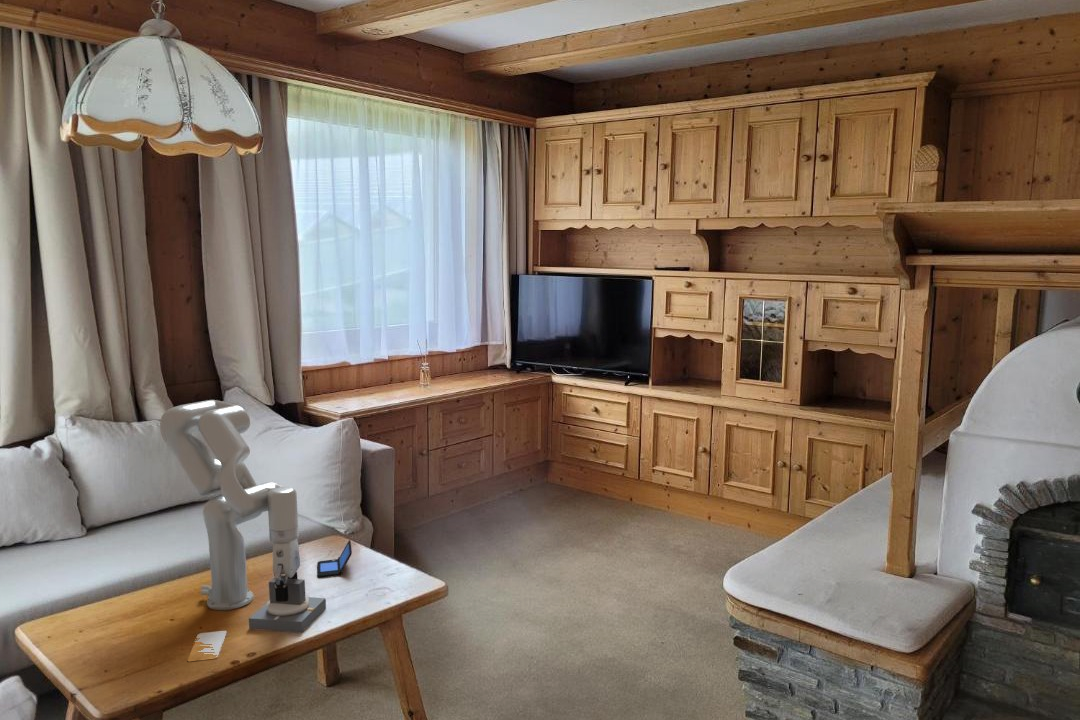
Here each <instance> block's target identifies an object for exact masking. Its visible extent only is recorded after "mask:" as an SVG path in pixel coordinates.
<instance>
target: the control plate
mask: <svg viewBox="0 0 1080 720" xmlns="http://www.w3.org/2000/svg"><path fill="white" fill-rule="evenodd" d="M307 597H308V598H309V606H308V607H307V608H306V609H305V610H304V611H302V612H299V613H296V614H292V615H286V616H277V615H272V614H270V613H268V612H267V602H266V603H265V604H264V605H262V606H261V607H260V608H259V609H258V610H257V611H255V612H254V613H253V614H252V615H251V616H249V617H248V628H249V630H257V631H259V630H260V631H275V632H287V633H289V632H290V633H303V632H304V631H305V630H307V628H308V627H309V626H310V625H311V624H312V623H313V622H314V621H316V619H317V618H318V617H319V616H320V615H321V614H322V613H323V612H324V611H326V609H327V604H326V603H327V602H326V599H327V598H325V597H315V596H312V597H311V596H307Z"/></svg>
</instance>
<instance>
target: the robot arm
mask: <svg viewBox="0 0 1080 720" xmlns="http://www.w3.org/2000/svg"><path fill="white" fill-rule="evenodd" d="M250 426H251V418H250V415H249V413H248V411H247V410H245V408H243V407H242V406H240V405H238V404H234V403H230V402H226V401H221V400H218V399H216V400H215V399H209V400H208V399H206V400H203V401H196V402H192V403H191V402H190V403H186V404H180V405H177V406H174V407H173V406H172V407H171V408H169V409H167V410H166V411H164V413H163V414H162V415H161V417H160V421H159V429H160V434H161V437H162V439H163V442H164V443H165V445H166V446H167V447H168V449H170V452H172V454H173V455H174V456H175V457H176V459H177V460H178V461H179V463H180V466H181V468H182V469H183V472H184V473H185V475H186V477H187V479H188V481H189V482H190V484H191V485H192V488H193V490H195V492H196V493H197V495H199V496H201V497H208V496H212V495H216V494H219V493H221V494H219V495H217V496H214V497H212V498H210V499H209V500H208V501H207V502H205V504H204V506H203V509H202V517H203V522H204V525H205V528H206V532H207V533H206V534H207V539H208V541H207V542H208V551H209V563H210V565H209V566H210V580H211V585H209V584H202V586H201V589H200V595H204V596H206V595H207V596H208V598H207V600H206V606H207V607H208V608H209V609H212V610H216V611H230V610H234V609H239V608H241V607H244V606H246V605H248V604H250V603H252V601H253V600H254V598H255V597H254V592H253V591H252V590H249V589H248V579H247V578H248V576H247V575H248V574H247V559H246V547H245V546H246V544H245V538H244V536H243V535H242V532H241V531H240V530H239V529H238V528H237V526H238V525H240V524H243V523H245V522H248V521H252V520H254V519H256V518H258V517H259V516H261V515H262V514H263V513H264V512H267V513H268V529H269V530H268V532H269V534H268V535H269V541H270V542H271V543H272V570H273V578H275V593H276V601H277V602H282V601H288V586H286V585H287V578H288V579H298V570H299V568H300V565H301V560H300V559H301V558H300V548H299V541H298V540H299V537H300V536H299V534H300V533H299V519H298V518H299V517H298V515H299V514H298V501H297V500H298V496H297V491H296V490H295V489H294V488H293V487H290V486H283V485H281V484H279V483H277V482H274V481H267V482H262V483H260V484H257V483H256V481H255V479H254V477H253V476H252V474H251V471H250V470H249V468H248V467H247V465H246V464H245V462H244V461H246V459H247V458H248V457H249V455H250V452H251V451H250V450H251V449H250V447H249V445H248V444H247V443H246V441H245V440H244V438H243V436H242V435H241V434H244V433H246V432H247V431H248V429H249V428H250ZM197 432H200V434H201V435H202V438H203V439H204V440H205V442H206V443H205V442H203V441H202V440H200V439H199V438H198V437H195V436H194V435H192V433H193V434H194V433H197ZM206 444H208V445H206ZM208 446H209V447H208ZM210 450H211V451H212V452H213V454H214V456H213V454H212V453H211V451H210ZM215 457H216V458H215ZM281 579H284V582H283V581H282V580H281Z"/></svg>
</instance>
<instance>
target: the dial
mask: <svg viewBox="0 0 1080 720" xmlns="http://www.w3.org/2000/svg"><path fill="white" fill-rule="evenodd" d="M281 580H282V581H283V582H284V579H281ZM286 586H288V601H282V602H277V601H276V593H275V577H273V578H271V580H269V581H268V592H269V593H268V594H269V595H268V596H269V600H268V601H267V602H266V603H267V612H268V613H270V614H272V615H277V616H286V615H292V614H296V613H299V612H302V611H304V610H305V609H306V608H307V607H308V606H309V598H308V597H309V596H308V595H306V583H305V579H304V578H303V579H302V578H300V579H299V578H297V579H288V578H287V585H286Z"/></svg>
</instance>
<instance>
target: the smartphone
mask: <svg viewBox="0 0 1080 720" xmlns="http://www.w3.org/2000/svg"><path fill="white" fill-rule="evenodd" d="M227 632H228V631H227V630H219V631H218V630H217V631H210V632H200V633H198V634H197V636H196V638H200V639H199V640H198V641H195V640H194V642H202V643H204V644H212V645H200V646H210V647H213V648H204V649H203V650H201V651H198V652H215V653H204V654H213V655H217V656H216V657H218V658H219V656H220V653H221V651H222V648H221V647H223V645H222V644H224V642H225V640H226V637H227V634H228V633H227ZM225 636H226V637H225ZM196 638H195V639H196ZM224 639H225V640H224ZM211 649H214V650H211ZM219 652H220V653H219ZM218 655H219V656H218Z"/></svg>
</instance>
